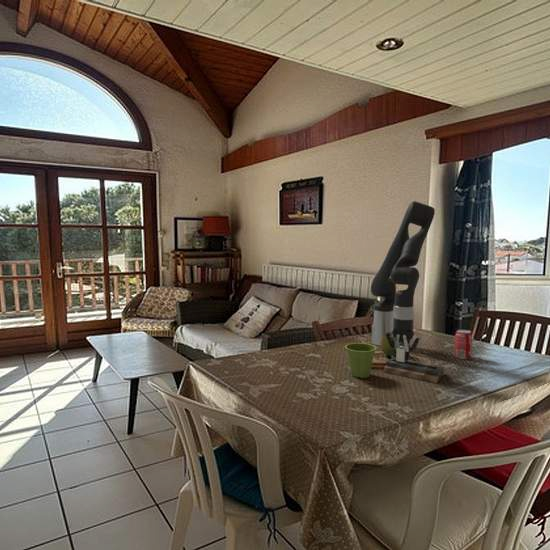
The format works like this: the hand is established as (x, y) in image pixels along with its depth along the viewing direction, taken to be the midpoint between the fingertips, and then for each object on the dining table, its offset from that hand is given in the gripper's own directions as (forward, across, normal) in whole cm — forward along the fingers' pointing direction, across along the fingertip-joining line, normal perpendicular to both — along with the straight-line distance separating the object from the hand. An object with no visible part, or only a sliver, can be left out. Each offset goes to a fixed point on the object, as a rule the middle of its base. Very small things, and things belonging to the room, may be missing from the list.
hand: (402, 359), depth 158 cm
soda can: (+5, +16, +33) cm, 37 cm away
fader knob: (+2, 0, 0) cm, 2 cm away
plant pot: (+5, -11, -15) cm, 19 cm away
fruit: (+5, -9, +16) cm, 19 cm away
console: (+5, +5, 0) cm, 7 cm away
